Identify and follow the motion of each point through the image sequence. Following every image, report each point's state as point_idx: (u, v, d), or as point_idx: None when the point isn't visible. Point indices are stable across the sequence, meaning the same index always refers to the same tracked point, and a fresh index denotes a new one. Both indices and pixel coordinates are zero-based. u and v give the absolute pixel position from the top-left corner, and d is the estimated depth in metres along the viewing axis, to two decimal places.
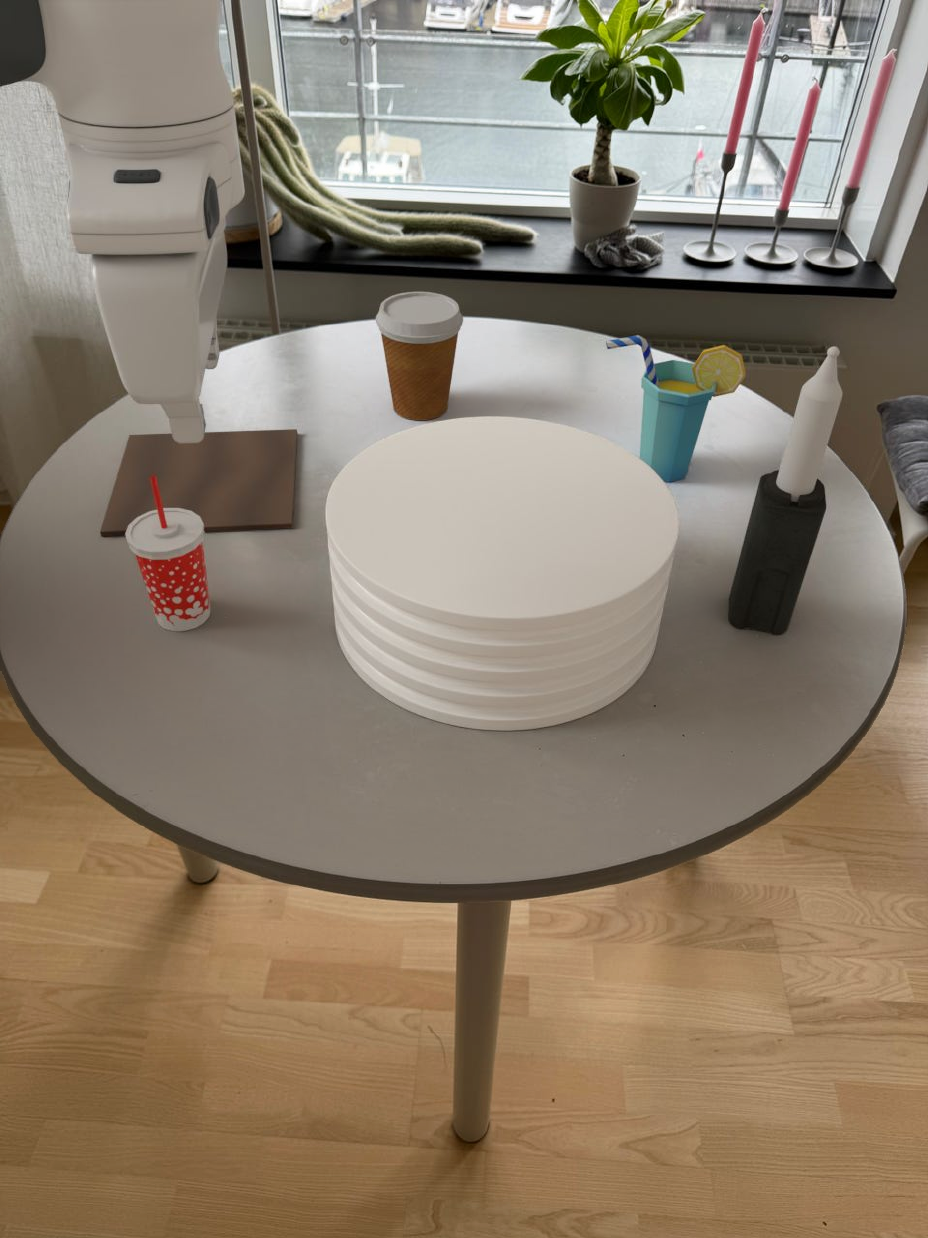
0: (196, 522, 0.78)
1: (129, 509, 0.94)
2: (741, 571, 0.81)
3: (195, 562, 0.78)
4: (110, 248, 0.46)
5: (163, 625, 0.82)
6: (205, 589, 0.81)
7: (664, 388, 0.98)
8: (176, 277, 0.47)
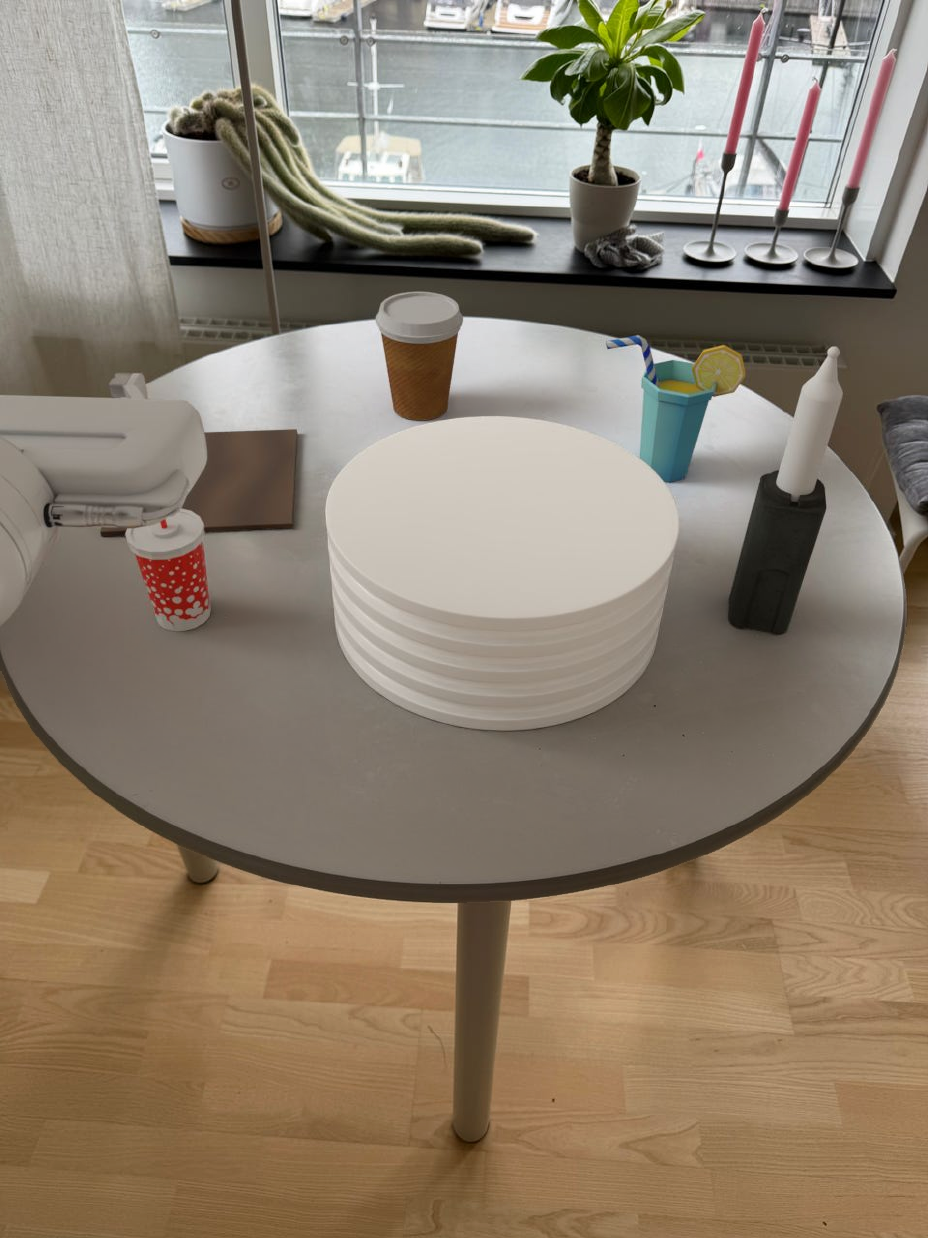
0: (196, 522, 0.78)
1: None
2: (741, 571, 0.81)
3: (195, 562, 0.78)
4: None
5: (163, 625, 0.82)
6: (205, 589, 0.81)
7: (664, 389, 0.98)
8: None
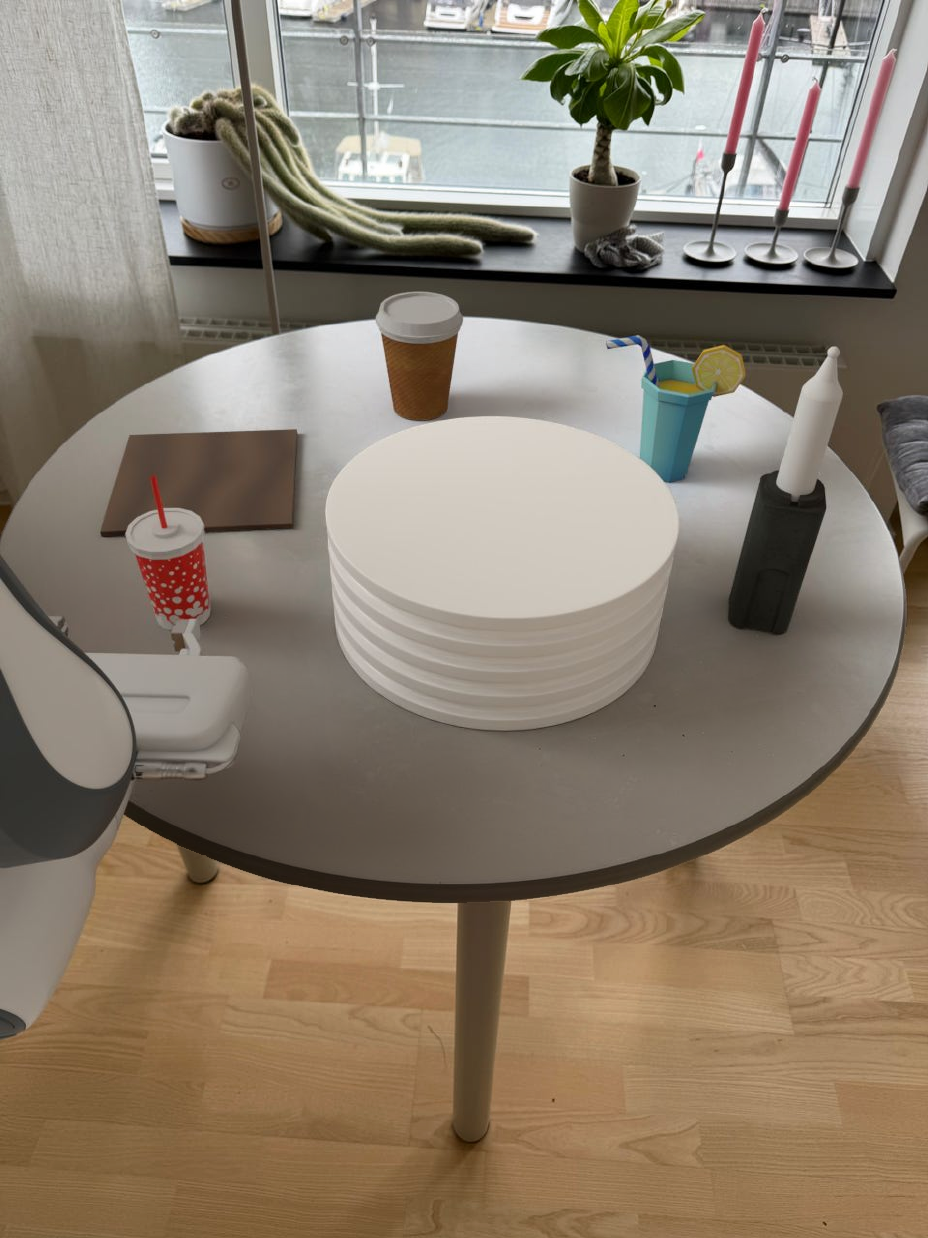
0: (196, 522, 0.78)
1: (129, 509, 0.94)
2: (741, 571, 0.81)
3: (195, 562, 0.78)
4: None
5: (163, 625, 0.82)
6: (205, 589, 0.81)
7: (664, 389, 0.98)
8: None
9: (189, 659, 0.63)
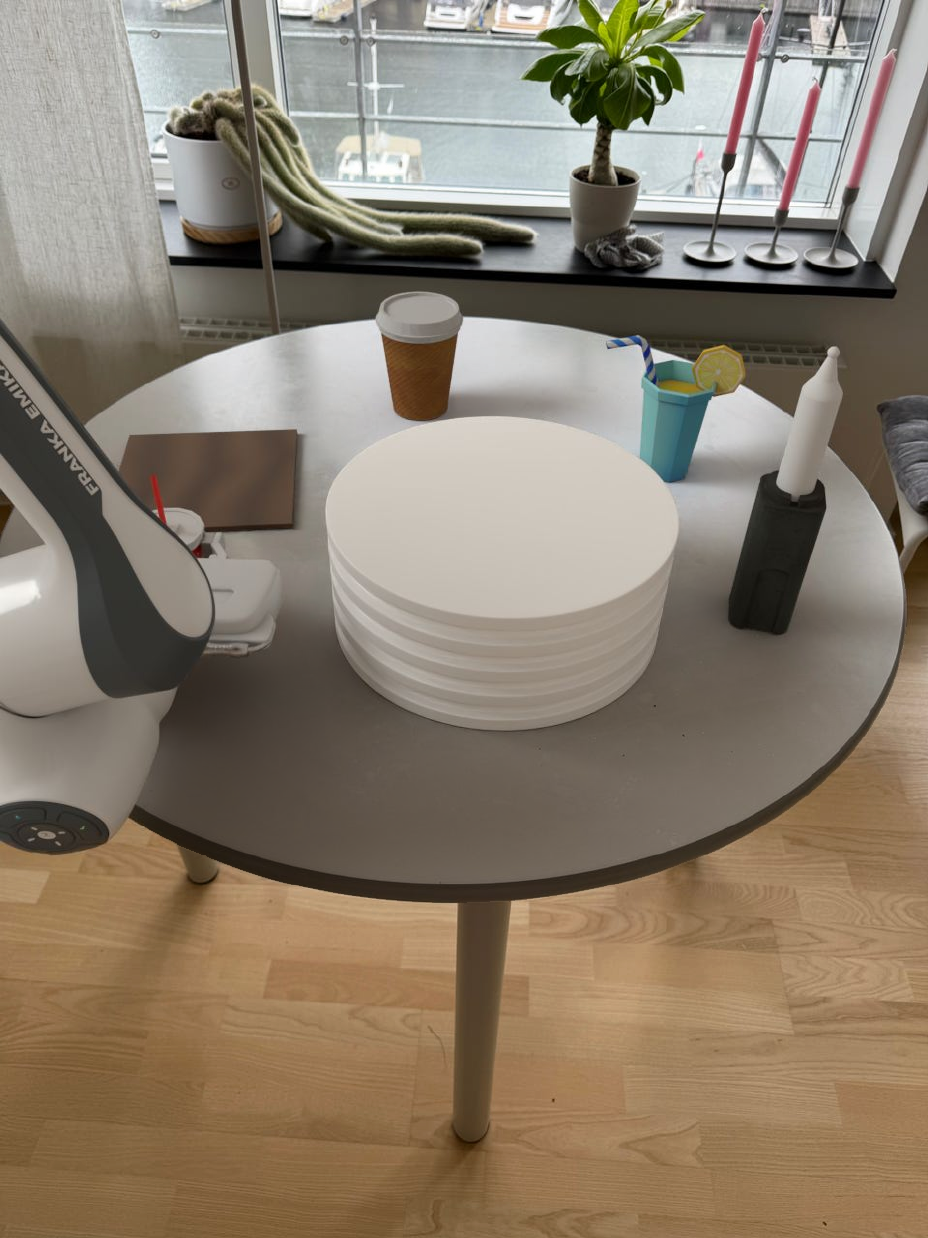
0: (196, 522, 0.78)
1: None
2: (741, 571, 0.81)
3: None
4: None
5: None
6: None
7: (664, 388, 0.98)
8: None
9: (230, 561, 0.74)
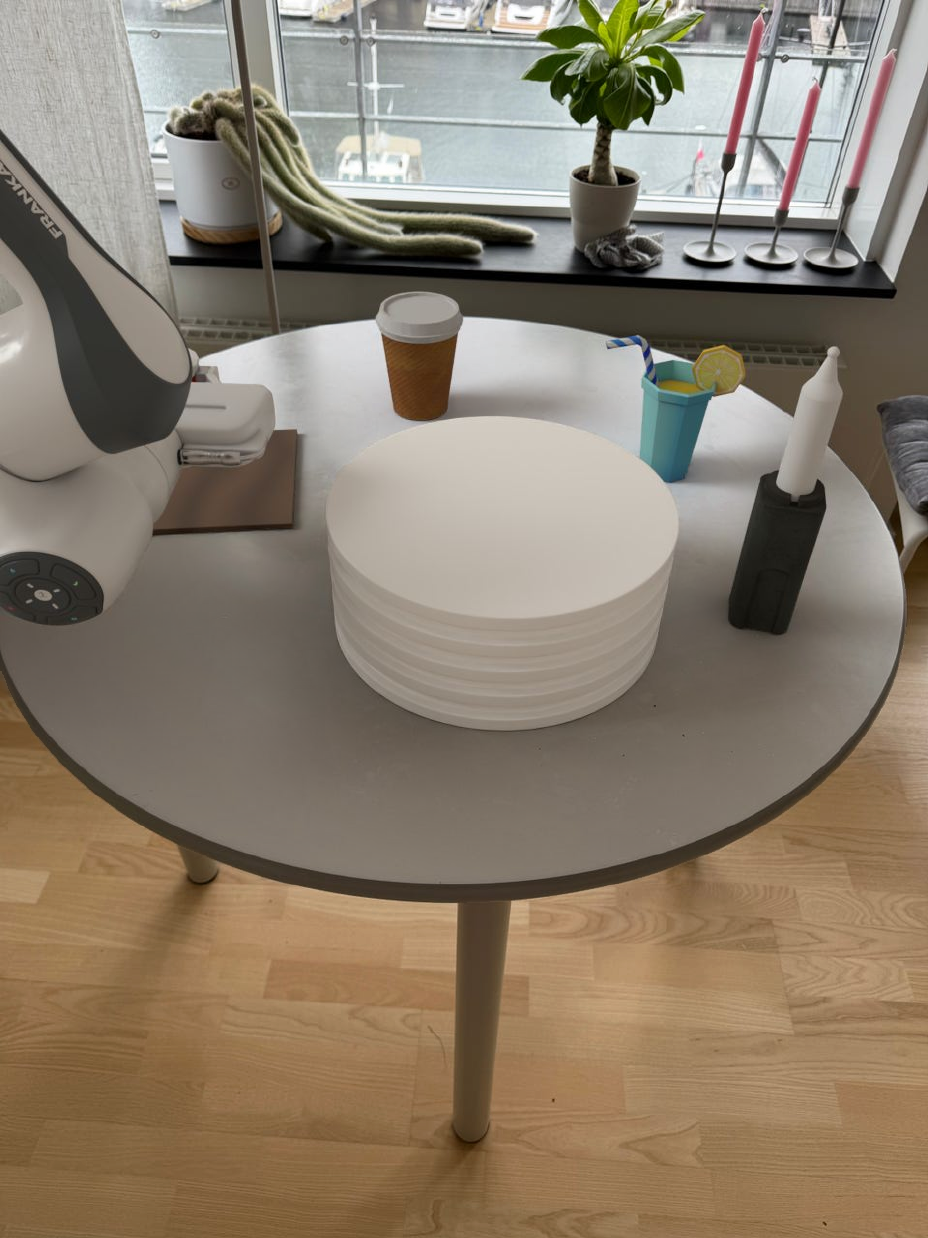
0: (191, 356, 0.81)
1: None
2: (741, 571, 0.81)
3: None
4: None
5: None
6: None
7: (664, 388, 0.98)
8: None
9: (224, 384, 0.76)
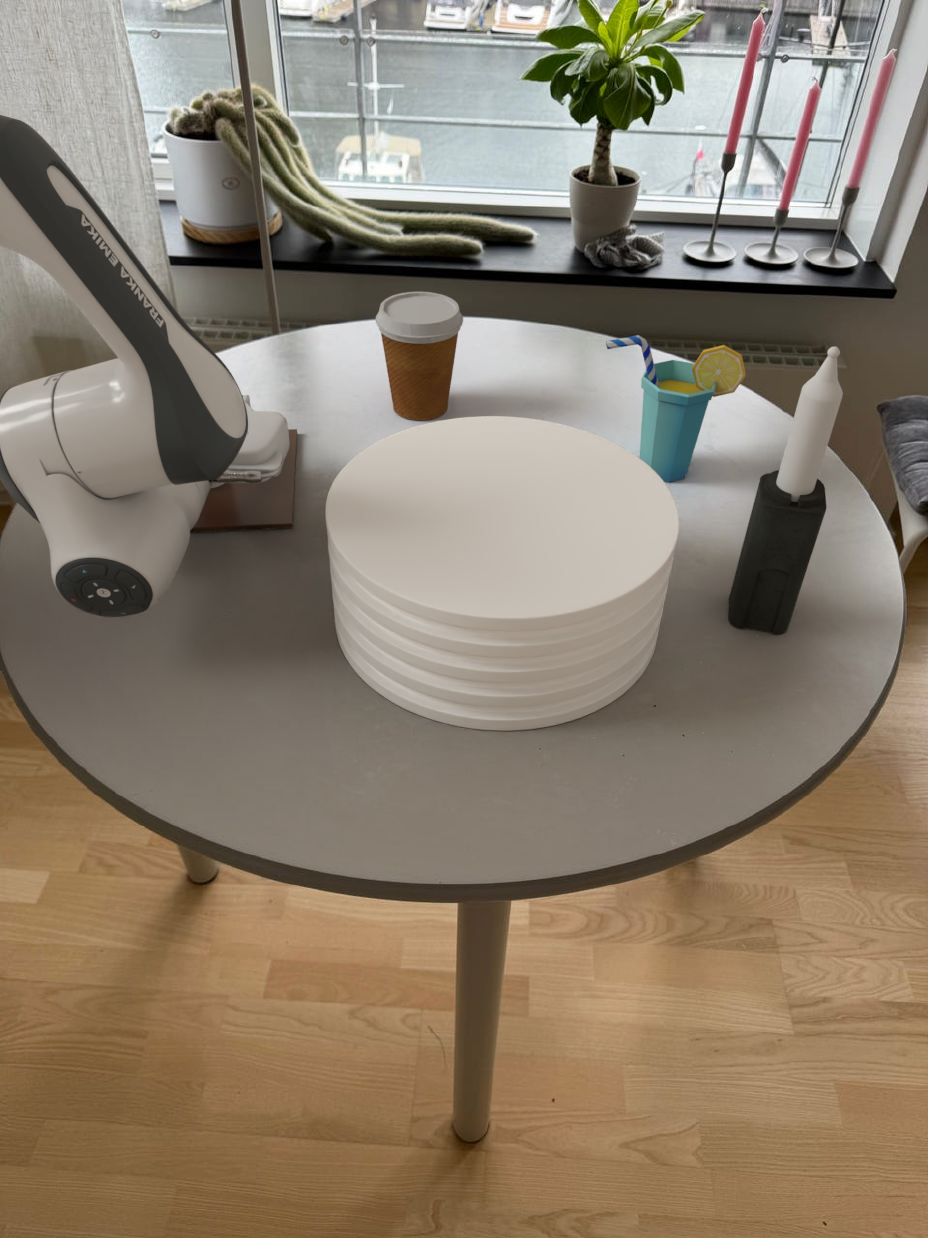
0: None
1: None
2: (741, 571, 0.81)
3: None
4: None
5: None
6: None
7: (664, 389, 0.98)
8: None
9: None
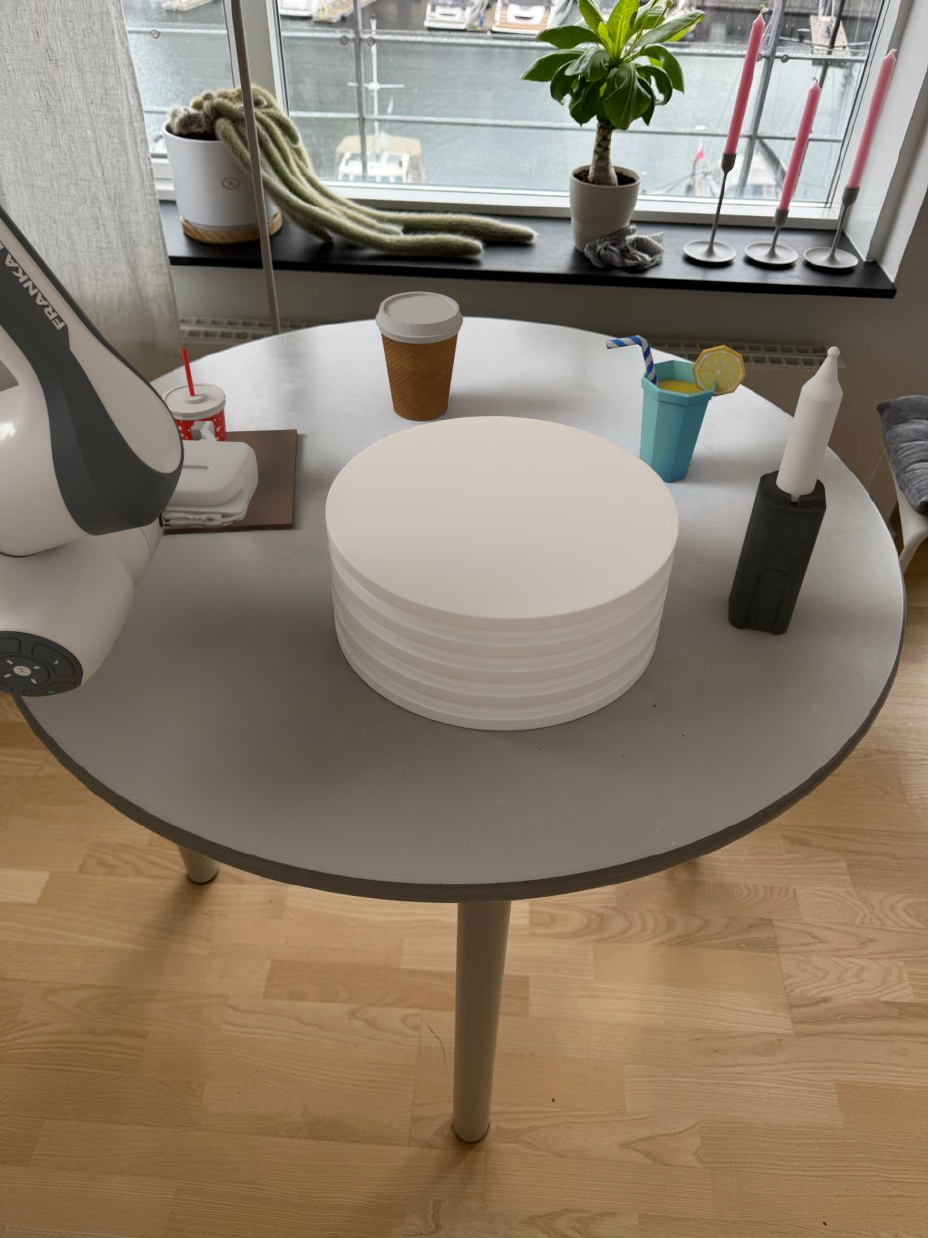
0: (219, 392, 0.94)
1: None
2: (741, 571, 0.81)
3: (218, 426, 0.93)
4: None
5: None
6: None
7: (664, 389, 0.98)
8: None
9: (207, 443, 0.76)
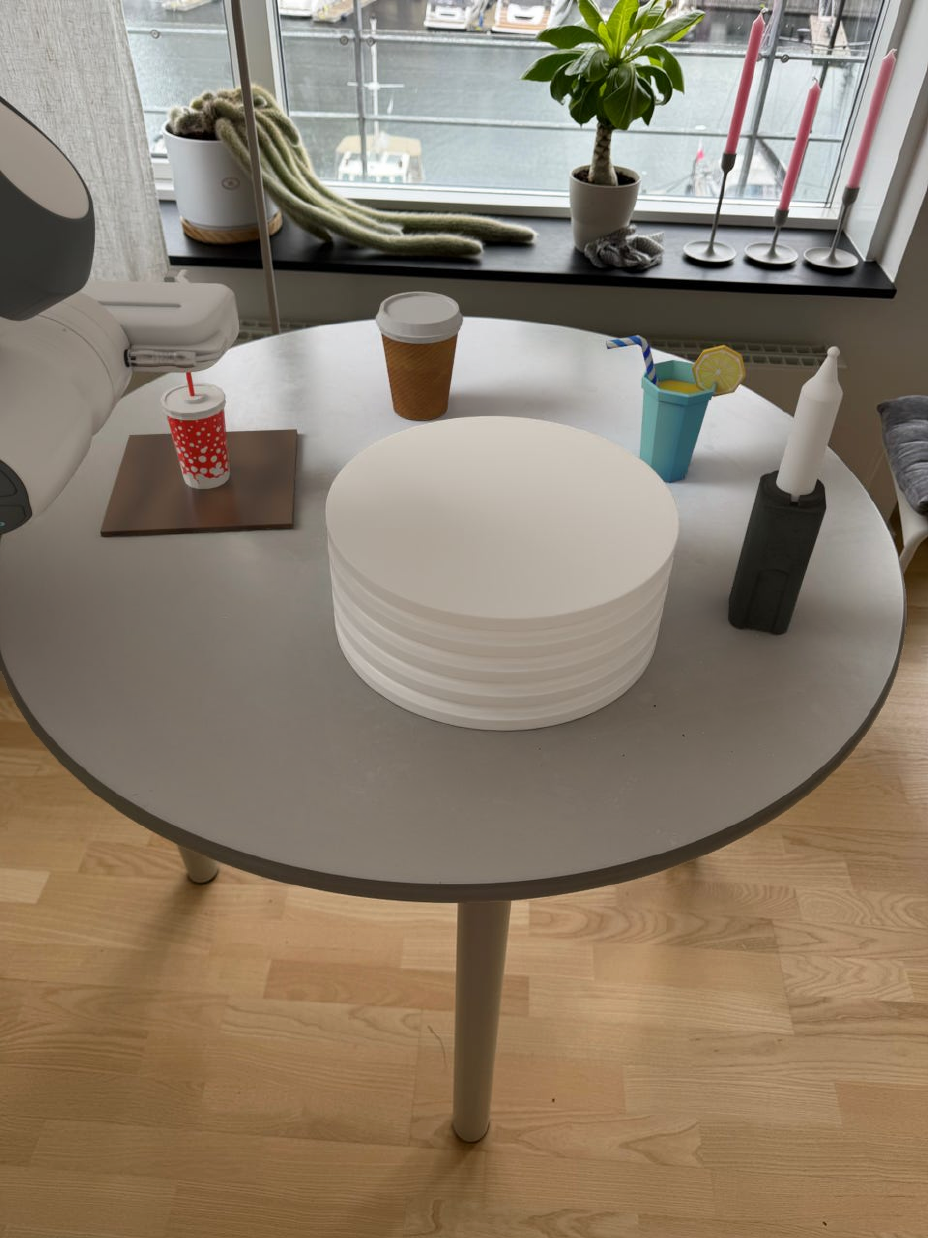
0: (219, 392, 0.94)
1: (129, 509, 0.94)
2: (741, 571, 0.81)
3: (218, 426, 0.93)
4: None
5: (190, 484, 0.97)
6: (225, 453, 0.96)
7: (664, 389, 0.98)
8: None
9: (180, 283, 0.68)
